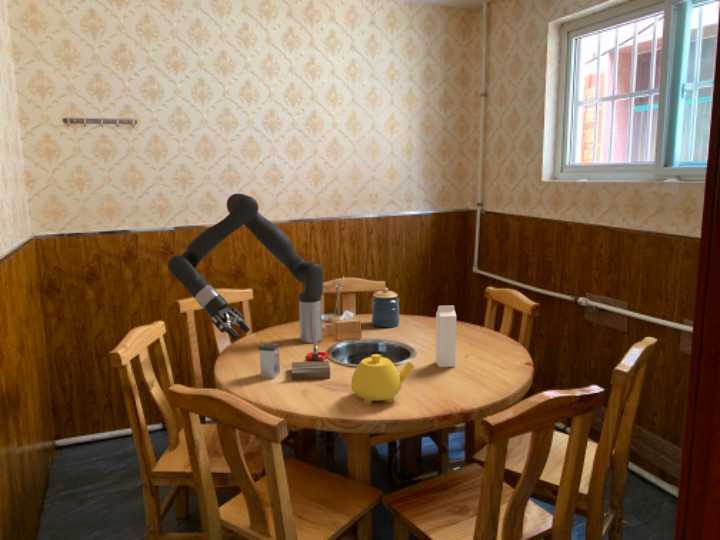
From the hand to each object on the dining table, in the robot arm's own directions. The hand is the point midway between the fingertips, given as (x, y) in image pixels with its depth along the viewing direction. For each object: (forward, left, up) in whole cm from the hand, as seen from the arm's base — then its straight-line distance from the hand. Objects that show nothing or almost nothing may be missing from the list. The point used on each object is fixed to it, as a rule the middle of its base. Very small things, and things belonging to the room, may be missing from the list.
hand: (242, 334), depth 190 cm
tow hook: (-15, +26, -14) cm, 33 cm away
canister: (-58, +59, -14) cm, 84 cm away
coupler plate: (+3, +23, -14) cm, 27 cm away
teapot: (+27, +45, -14) cm, 55 cm away
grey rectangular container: (+3, +9, -14) cm, 17 cm away
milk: (0, +72, -14) cm, 74 cm away
